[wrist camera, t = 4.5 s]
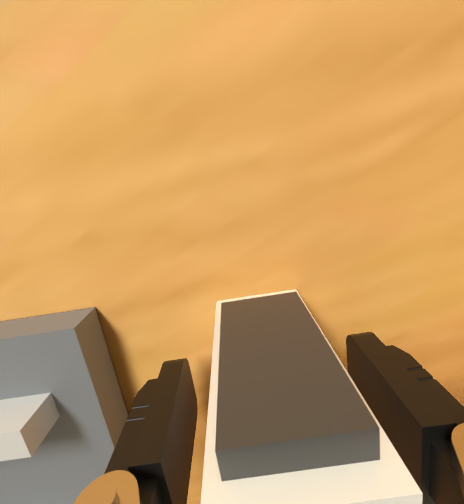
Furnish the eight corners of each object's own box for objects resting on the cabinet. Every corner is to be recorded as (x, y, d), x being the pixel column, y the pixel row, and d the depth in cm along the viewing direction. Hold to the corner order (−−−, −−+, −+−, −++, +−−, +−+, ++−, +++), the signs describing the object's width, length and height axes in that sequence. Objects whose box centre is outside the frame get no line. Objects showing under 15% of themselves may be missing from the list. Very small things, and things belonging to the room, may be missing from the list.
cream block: (305, 379, 12) (417, 666, 5) (232, 389, 12) (241, 688, 5) (294, 274, 10) (423, 458, 4) (213, 286, 10) (190, 490, 4)
